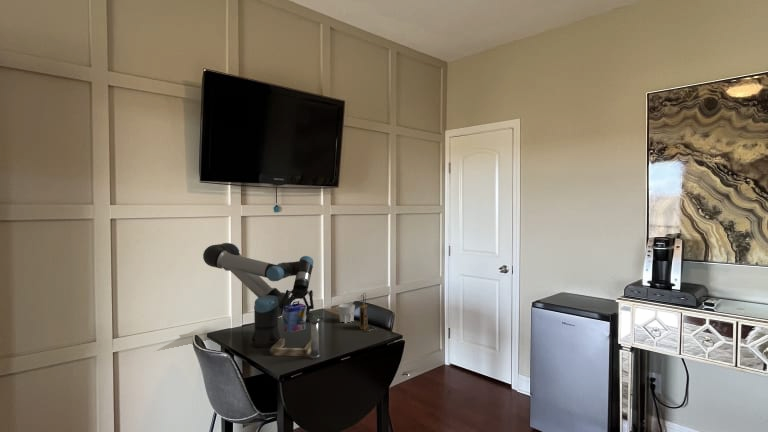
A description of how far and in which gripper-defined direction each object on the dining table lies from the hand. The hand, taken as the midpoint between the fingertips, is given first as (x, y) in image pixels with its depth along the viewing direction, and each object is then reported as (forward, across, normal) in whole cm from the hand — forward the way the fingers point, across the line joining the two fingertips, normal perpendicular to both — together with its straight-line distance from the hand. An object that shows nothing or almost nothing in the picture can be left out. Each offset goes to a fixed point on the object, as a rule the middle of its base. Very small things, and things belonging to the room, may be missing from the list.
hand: (293, 320), depth 199 cm
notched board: (+8, +1, -13) cm, 15 cm away
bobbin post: (+16, -12, -6) cm, 21 cm away
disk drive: (-30, +8, -53) cm, 61 cm away
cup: (-28, -16, -50) cm, 59 cm away
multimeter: (-18, -32, -40) cm, 54 cm away
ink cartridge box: (+2, 0, -6) cm, 6 cm away
